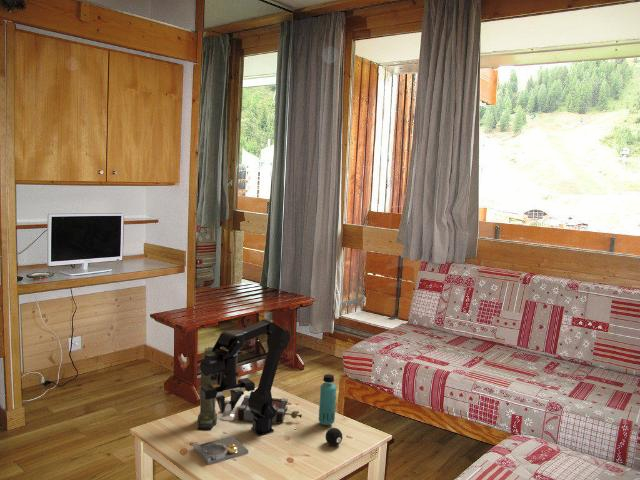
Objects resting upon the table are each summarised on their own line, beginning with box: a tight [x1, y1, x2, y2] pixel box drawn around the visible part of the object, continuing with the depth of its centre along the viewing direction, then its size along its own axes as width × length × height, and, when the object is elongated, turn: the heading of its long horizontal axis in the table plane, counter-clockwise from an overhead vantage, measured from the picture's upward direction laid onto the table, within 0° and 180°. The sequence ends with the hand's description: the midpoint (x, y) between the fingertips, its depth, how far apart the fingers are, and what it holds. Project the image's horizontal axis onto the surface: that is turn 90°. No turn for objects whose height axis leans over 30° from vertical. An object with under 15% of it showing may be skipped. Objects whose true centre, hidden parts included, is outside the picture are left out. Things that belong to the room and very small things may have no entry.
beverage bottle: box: [318, 373, 337, 426], centre depth 212 cm, size 6×7×20 cm
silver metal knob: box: [217, 399, 236, 422], centre depth 189 cm, size 6×6×6 cm
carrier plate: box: [193, 435, 249, 466], centre depth 189 cm, size 15×12×4 cm
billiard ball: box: [325, 427, 343, 447], centre depth 197 cm, size 6×6×6 cm
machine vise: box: [237, 394, 303, 424], centre depth 219 cm, size 15×25×5 cm, turn 85°
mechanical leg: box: [197, 346, 218, 431], centre depth 208 cm, size 14×7×30 cm, turn 179°
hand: (226, 411), depth 189 cm, fingers closed on silver metal knob, 3 cm apart
